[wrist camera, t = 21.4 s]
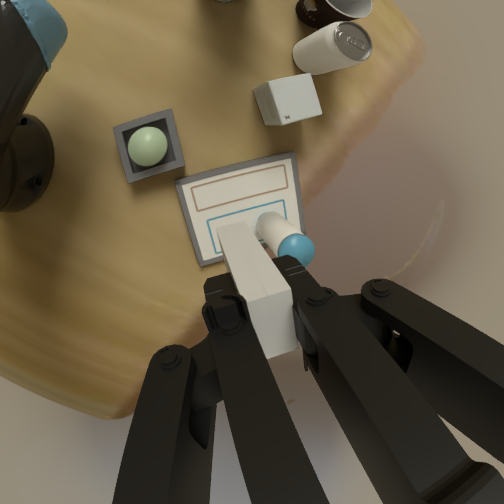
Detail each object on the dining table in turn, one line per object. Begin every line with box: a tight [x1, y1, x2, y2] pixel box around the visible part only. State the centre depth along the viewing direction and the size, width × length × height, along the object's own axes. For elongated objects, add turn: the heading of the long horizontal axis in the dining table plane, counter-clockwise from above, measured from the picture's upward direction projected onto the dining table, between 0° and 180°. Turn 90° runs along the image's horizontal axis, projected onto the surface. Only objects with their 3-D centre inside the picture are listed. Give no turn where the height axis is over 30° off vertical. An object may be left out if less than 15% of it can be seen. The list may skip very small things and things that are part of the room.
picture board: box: [175, 152, 306, 267], centre depth 42 cm, size 18×14×1 cm
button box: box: [113, 109, 185, 184], centre depth 33 cm, size 8×8×3 cm
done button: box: [128, 127, 168, 166], centre depth 32 cm, size 5×5×3 cm
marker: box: [256, 211, 315, 268], centre depth 38 cm, size 4×4×12 cm
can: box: [293, 21, 372, 75], centre depth 29 cm, size 6×6×12 cm
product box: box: [253, 73, 322, 126], centre depth 33 cm, size 6×6×7 cm
